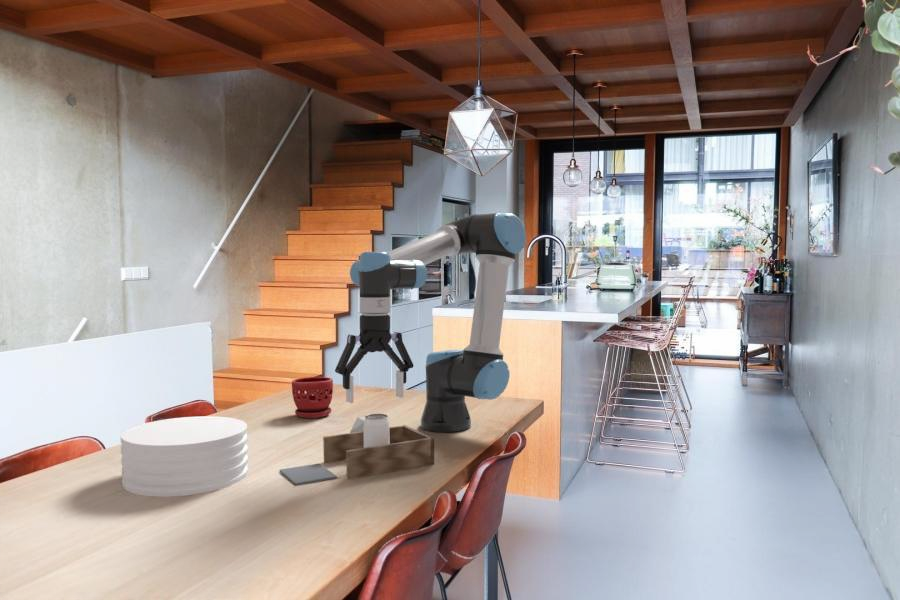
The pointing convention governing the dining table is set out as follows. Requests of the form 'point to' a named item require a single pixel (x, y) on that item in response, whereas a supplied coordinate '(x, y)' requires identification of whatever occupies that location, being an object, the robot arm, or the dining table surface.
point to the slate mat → (307, 474)
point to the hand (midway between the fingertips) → (375, 399)
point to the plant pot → (312, 396)
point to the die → (358, 425)
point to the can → (376, 430)
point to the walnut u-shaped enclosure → (380, 452)
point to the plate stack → (184, 455)
